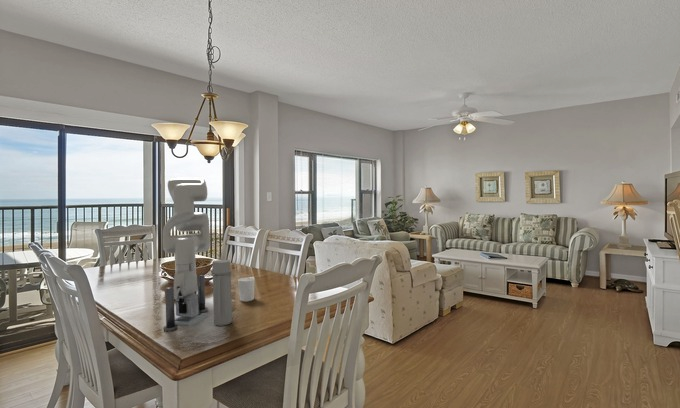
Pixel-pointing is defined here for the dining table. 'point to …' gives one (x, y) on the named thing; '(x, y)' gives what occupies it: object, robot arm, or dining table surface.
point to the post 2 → (201, 294)
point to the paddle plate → (189, 319)
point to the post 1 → (170, 310)
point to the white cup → (246, 288)
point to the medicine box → (189, 306)
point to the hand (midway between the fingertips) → (187, 310)
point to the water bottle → (222, 292)
